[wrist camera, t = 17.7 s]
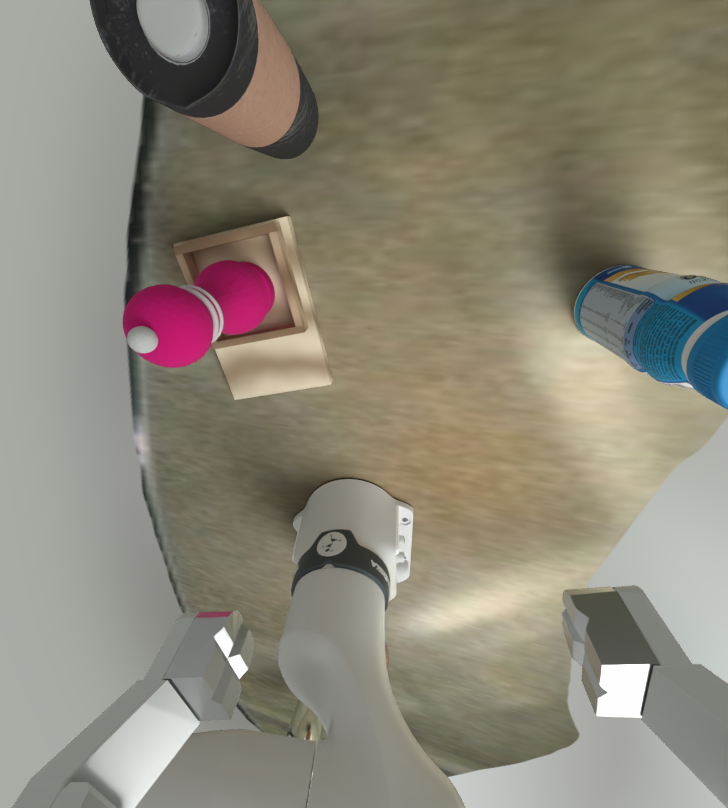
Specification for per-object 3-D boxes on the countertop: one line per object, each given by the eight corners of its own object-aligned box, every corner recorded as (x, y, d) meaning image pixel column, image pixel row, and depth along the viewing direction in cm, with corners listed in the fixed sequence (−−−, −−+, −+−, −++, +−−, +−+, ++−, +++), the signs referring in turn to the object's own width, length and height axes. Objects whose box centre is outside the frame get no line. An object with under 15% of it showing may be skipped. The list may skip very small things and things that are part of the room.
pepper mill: (209, 305, 43) (72, 365, 25) (226, 244, 39) (84, 263, 22) (267, 333, 43) (176, 411, 26) (289, 275, 40) (202, 319, 23)
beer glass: (337, 682, 78) (325, 777, 65) (316, 692, 81) (300, 786, 67) (313, 666, 76) (295, 761, 63) (292, 678, 79) (270, 771, 65)
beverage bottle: (554, 303, 41) (676, 368, 23) (627, 244, 38) (834, 265, 20) (596, 355, 43) (738, 451, 25) (669, 303, 40) (889, 371, 22)
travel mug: (291, 42, 33) (164, -171, 15) (336, 131, 36) (275, 41, 18) (226, 99, 35) (49, -28, 17) (274, 179, 38) (163, 142, 20)
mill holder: (333, 379, 47) (328, 391, 44) (239, 395, 49) (228, 407, 46) (290, 216, 39) (281, 216, 36) (180, 243, 41) (162, 244, 38)
